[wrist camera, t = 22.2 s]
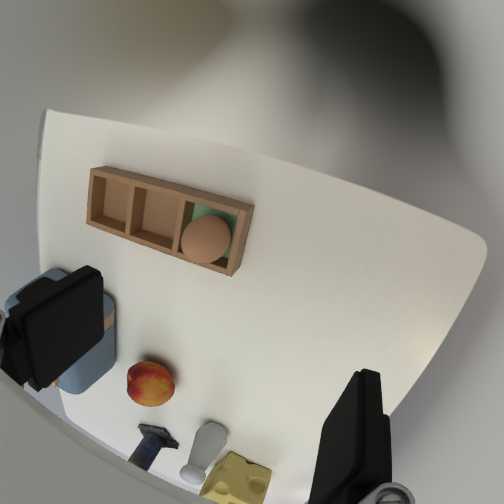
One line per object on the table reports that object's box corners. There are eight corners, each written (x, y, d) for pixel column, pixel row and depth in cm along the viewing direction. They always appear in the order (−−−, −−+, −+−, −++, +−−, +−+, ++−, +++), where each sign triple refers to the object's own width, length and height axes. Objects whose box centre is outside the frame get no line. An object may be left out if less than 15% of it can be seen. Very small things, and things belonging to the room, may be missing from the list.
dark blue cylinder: (163, 423, 56) (136, 463, 45) (181, 446, 58) (158, 486, 47) (134, 422, 60) (107, 458, 49) (152, 444, 61) (129, 479, 50)
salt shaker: (222, 441, 53) (199, 492, 41) (197, 427, 54) (169, 476, 42) (235, 429, 51) (211, 483, 39) (208, 414, 51) (179, 467, 40)
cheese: (230, 450, 54) (214, 487, 45) (275, 471, 53) (264, 509, 44) (211, 465, 58) (195, 499, 49) (252, 485, 57) (240, 518, 48)
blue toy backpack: (119, 295, 47) (53, 346, 33) (119, 365, 54) (70, 417, 39) (54, 262, 50) (-11, 296, 35) (60, 330, 56) (9, 368, 42)
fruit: (158, 345, 49) (132, 373, 41) (190, 380, 49) (169, 412, 42) (134, 360, 52) (109, 386, 44) (163, 392, 53) (142, 420, 45)
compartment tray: (254, 205, 37) (246, 211, 34) (239, 266, 40) (231, 277, 37) (105, 165, 41) (90, 168, 38) (100, 218, 44) (86, 223, 41)
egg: (200, 206, 38) (168, 221, 31) (240, 212, 37) (216, 229, 30) (198, 246, 40) (168, 268, 33) (237, 253, 39) (213, 278, 32)
